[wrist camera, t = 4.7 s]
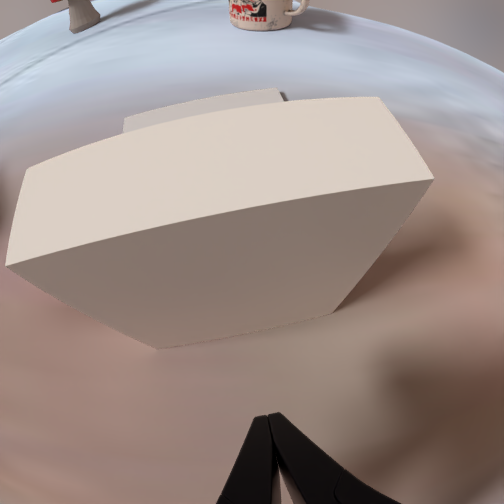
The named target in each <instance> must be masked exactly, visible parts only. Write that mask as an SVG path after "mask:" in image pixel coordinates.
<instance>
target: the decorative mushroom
mask: <svg viewBox="0 0 504 504" xmlns="http://www.w3.org/2000/svg"><path fill="white" fill-rule="evenodd" d="M59 1H62V0H51V2H52V3H54V2H59ZM68 2H69V15H70V29H69V30H70V31H71V32H72V33H74V34H75V33H78V32H81V31H83V30H85V29H87V28H89V27H91V26H93V25H95V24H96V23H98V22H99V21H100V14H99V13H98V12H97V11H96V10H95V8H94V7H93V5H92V4H91V2H90V0H68Z"/></svg>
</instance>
